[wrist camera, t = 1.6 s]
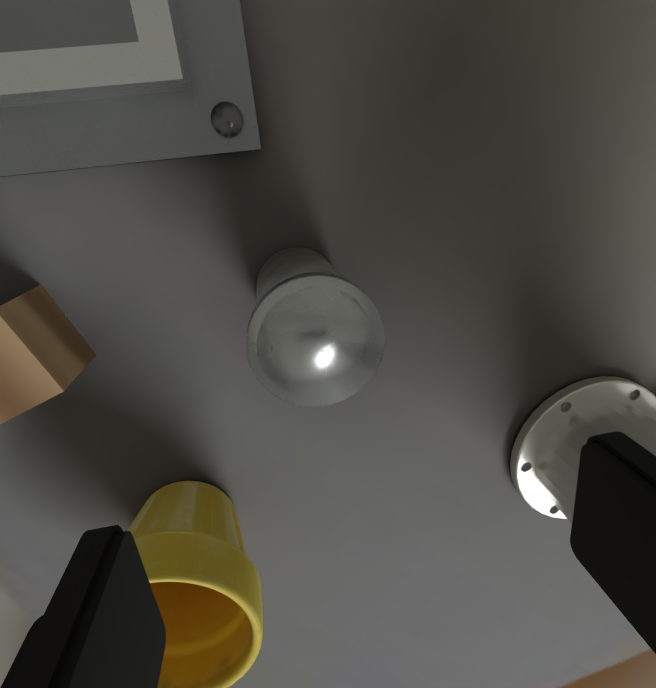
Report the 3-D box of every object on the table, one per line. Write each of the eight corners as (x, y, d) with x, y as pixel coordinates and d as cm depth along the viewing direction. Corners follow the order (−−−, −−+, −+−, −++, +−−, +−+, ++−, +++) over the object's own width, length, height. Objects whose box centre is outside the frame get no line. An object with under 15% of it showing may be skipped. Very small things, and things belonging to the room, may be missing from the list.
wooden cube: (41, 283, 26) (-6, 309, 21) (96, 354, 28) (64, 391, 23) (-34, 323, 26) (-97, 357, 21) (26, 391, 28) (-20, 434, 23)
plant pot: (187, 592, 35) (164, 736, 26) (81, 518, 32) (11, 657, 23) (289, 517, 34) (300, 641, 25) (191, 431, 30) (164, 541, 21)
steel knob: (338, 234, 27) (380, 267, 18) (347, 324, 29) (388, 395, 20) (242, 246, 27) (234, 286, 17) (258, 337, 29) (258, 416, 20)
